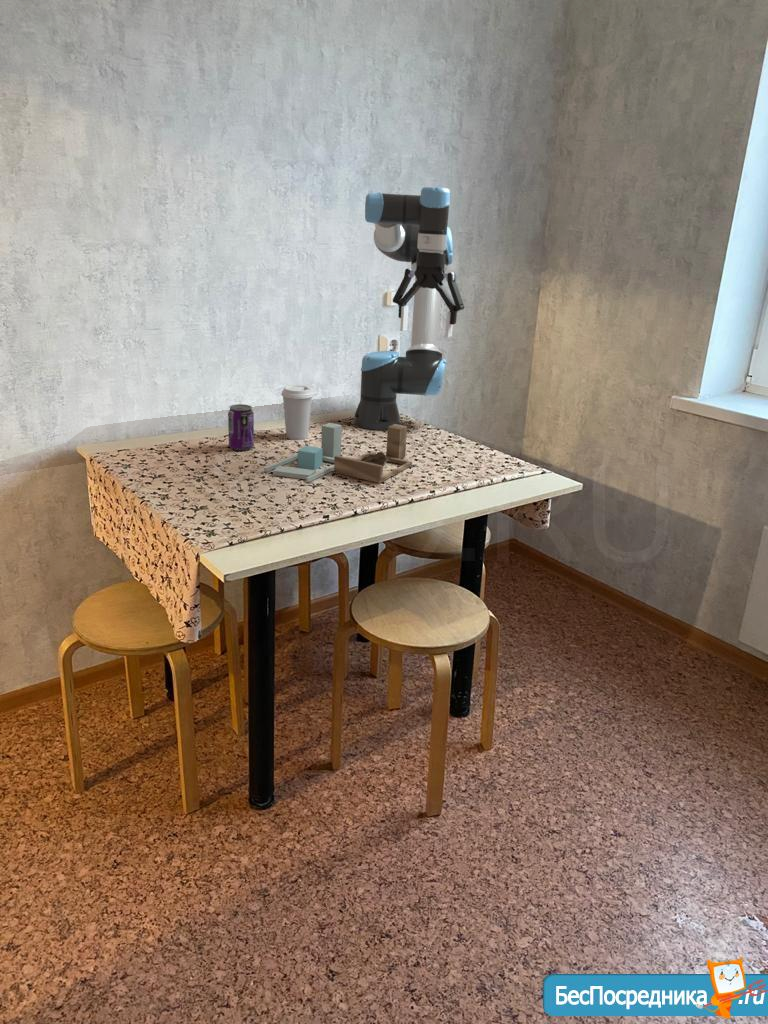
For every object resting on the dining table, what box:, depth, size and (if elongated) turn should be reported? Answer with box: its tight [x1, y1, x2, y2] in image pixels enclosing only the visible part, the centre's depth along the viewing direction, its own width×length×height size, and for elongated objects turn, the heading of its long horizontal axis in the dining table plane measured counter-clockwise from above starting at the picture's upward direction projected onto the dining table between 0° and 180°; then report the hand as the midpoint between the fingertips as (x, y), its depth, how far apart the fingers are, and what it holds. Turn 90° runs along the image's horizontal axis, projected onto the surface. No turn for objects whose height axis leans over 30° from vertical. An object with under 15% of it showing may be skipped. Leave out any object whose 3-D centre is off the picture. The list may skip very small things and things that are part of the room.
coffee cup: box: [280, 384, 315, 441], centre depth 231 cm, size 10×10×15 cm
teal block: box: [297, 445, 323, 471], centre depth 208 cm, size 5×5×5 cm
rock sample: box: [359, 450, 389, 467], centre depth 208 cm, size 10×8×9 cm
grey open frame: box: [263, 422, 343, 483], centre depth 207 cm, size 24×14×9 cm, turn 151°
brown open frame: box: [333, 424, 413, 484], centre depth 210 cm, size 24×14×9 cm, turn 151°
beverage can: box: [227, 403, 255, 451], centre depth 219 cm, size 7×7×12 cm
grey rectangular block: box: [272, 465, 316, 480], centre depth 202 cm, size 4×10×1 cm, turn 76°
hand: (425, 333), depth 209 cm, fingers open, 13 cm apart
